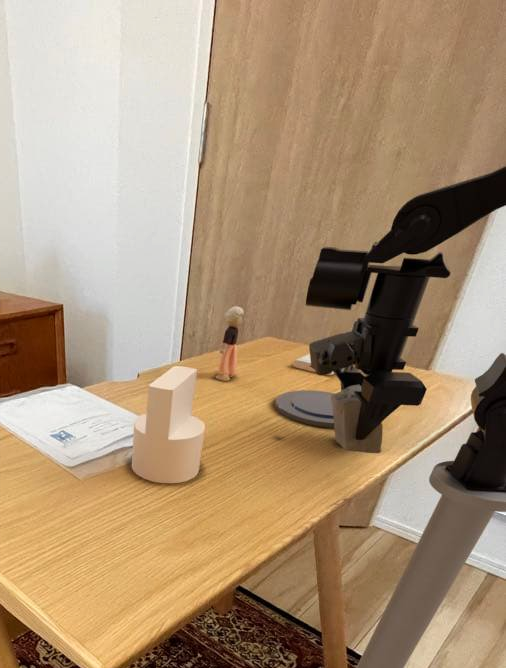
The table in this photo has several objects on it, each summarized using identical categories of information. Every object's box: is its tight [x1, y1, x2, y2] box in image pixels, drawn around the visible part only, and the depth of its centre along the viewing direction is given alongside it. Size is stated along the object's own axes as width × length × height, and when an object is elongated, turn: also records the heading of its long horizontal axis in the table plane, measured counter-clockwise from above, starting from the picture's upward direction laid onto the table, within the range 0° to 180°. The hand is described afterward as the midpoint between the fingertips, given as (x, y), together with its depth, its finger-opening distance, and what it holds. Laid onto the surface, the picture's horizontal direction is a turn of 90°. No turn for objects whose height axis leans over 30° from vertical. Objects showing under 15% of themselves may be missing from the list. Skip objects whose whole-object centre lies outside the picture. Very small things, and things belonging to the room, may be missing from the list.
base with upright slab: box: [131, 365, 206, 484], centre depth 62 cm, size 9×9×12 cm
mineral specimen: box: [331, 384, 383, 454], centre depth 70 cm, size 7×9×8 cm
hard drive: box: [292, 353, 335, 376], centre depth 103 cm, size 2×8×12 cm
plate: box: [274, 389, 336, 429], centre depth 83 cm, size 15×15×1 cm
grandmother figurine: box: [215, 305, 245, 382], centre depth 93 cm, size 8×4×13 cm, turn 162°
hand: (351, 430), depth 71 cm, fingers closed on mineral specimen, 6 cm apart
